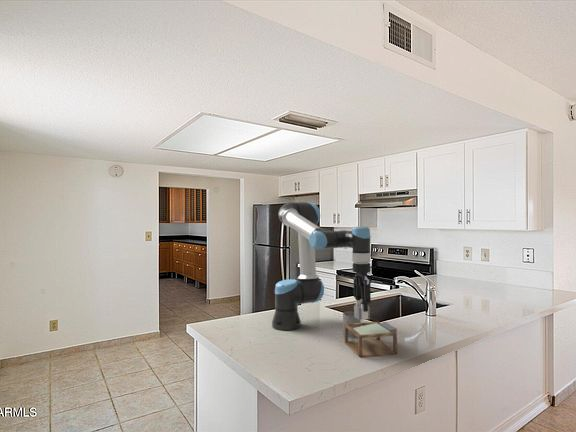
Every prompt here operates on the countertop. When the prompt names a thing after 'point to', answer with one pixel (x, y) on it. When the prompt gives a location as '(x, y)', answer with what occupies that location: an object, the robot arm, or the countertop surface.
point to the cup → (349, 322)
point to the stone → (359, 312)
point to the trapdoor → (375, 329)
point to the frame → (369, 342)
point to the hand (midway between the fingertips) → (362, 316)
